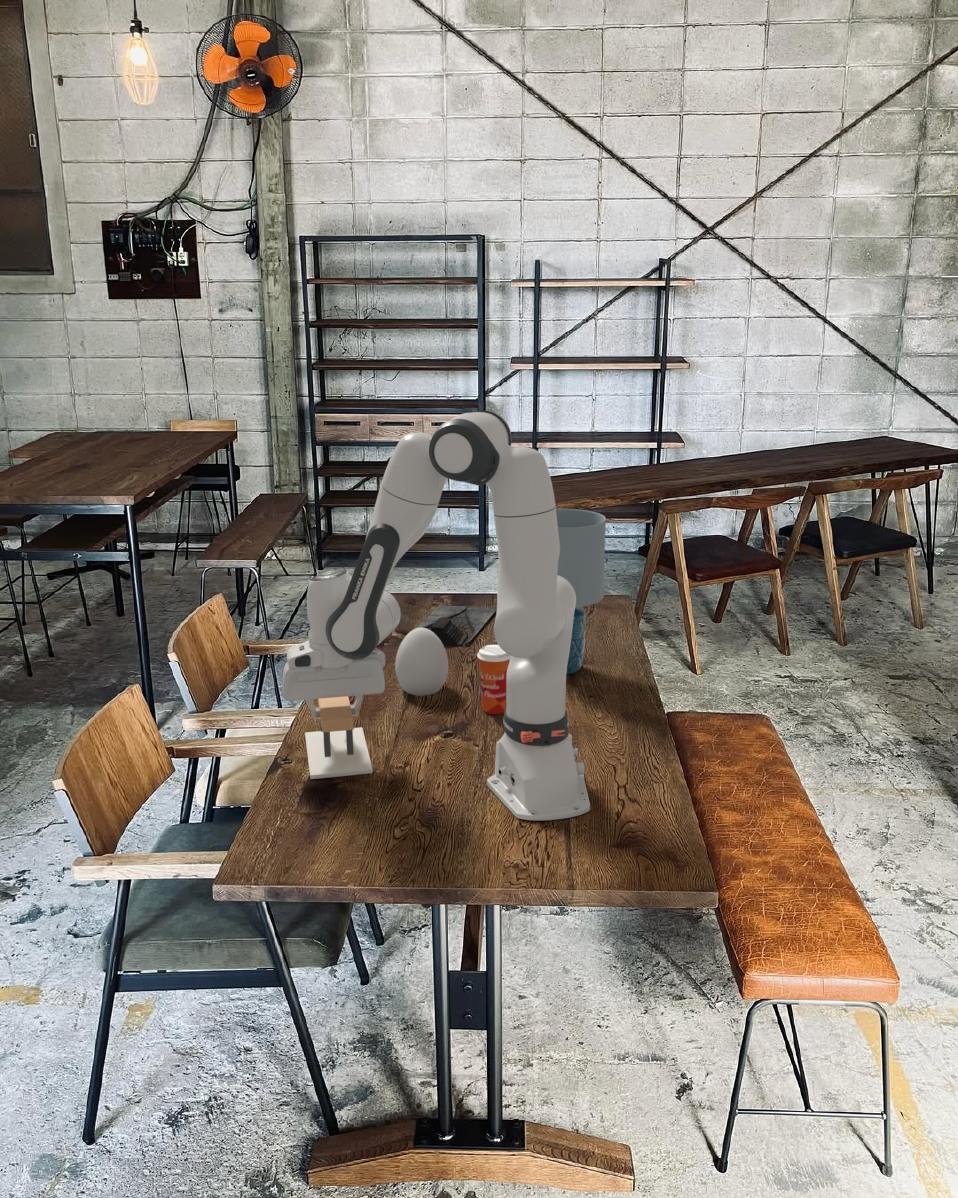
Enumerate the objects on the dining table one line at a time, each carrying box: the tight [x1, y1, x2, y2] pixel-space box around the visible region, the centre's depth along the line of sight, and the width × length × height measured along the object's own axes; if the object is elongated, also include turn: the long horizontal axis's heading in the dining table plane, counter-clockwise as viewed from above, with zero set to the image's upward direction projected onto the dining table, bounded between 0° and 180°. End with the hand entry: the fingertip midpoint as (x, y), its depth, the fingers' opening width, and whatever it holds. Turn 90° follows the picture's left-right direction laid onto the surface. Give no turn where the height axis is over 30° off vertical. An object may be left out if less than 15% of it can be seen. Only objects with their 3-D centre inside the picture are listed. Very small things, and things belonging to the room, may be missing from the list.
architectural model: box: [416, 604, 497, 647], centre depth 288 cm, size 17×6×30 cm
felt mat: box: [304, 726, 374, 780], centre depth 214 cm, size 20×12×1 cm, turn 12°
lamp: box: [556, 508, 607, 676], centre depth 252 cm, size 19×19×38 cm
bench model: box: [317, 696, 355, 757], centre depth 212 cm, size 14×6×8 cm, turn 12°
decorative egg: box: [394, 627, 449, 697], centre depth 244 cm, size 12×12×15 cm
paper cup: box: [476, 644, 511, 715], centre depth 233 cm, size 8×8×14 cm
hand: (335, 716), depth 212 cm, fingers closed on bench model, 6 cm apart
